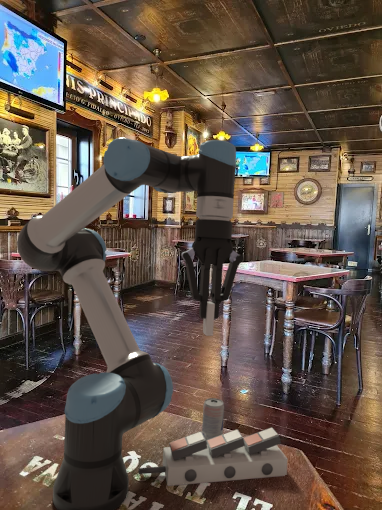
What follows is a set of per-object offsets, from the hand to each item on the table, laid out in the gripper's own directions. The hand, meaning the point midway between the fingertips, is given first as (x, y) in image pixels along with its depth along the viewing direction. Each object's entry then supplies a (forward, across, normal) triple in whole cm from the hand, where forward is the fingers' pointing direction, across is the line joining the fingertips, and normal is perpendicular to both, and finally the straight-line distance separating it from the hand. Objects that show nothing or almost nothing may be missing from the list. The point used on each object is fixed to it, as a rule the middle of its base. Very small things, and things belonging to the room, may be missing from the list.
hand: (207, 333), depth 77 cm
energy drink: (+35, +8, +18) cm, 40 cm away
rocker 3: (+29, +17, +8) cm, 35 cm away
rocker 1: (+28, -1, +8) cm, 29 cm away
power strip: (+34, +5, +8) cm, 36 cm away
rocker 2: (+28, +8, +8) cm, 30 cm away
